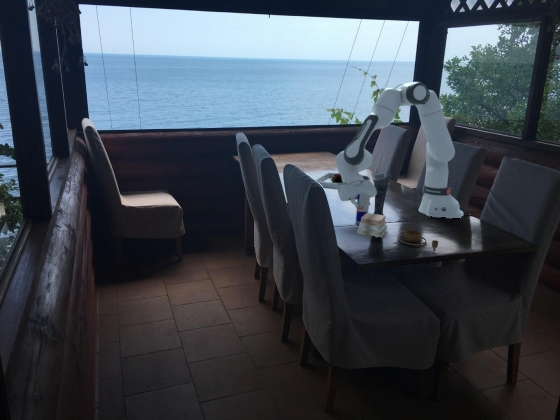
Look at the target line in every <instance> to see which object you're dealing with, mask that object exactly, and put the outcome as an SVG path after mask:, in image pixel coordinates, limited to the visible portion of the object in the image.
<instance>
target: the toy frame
mask: <svg viewBox="0 0 560 420" xmlns="http://www.w3.org/2000/svg"><path fill="white" fill-rule="evenodd" d="M334 174H335V172H329V171H328V172H326V173H325V174H323V175H321V176H320V177H318V178H316V179H315V180H316V181H317V182H318V183H320V184H321V185H322V186H323V187H322V188H329V189H336V185H337V183H333V182H330V181H329V182H327V181H325V180H327V179H328V178H329V179H330V178H331V177H332V178H333V177H334ZM323 180H324V181H323Z"/></svg>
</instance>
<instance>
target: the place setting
mask: <svg viewBox="0 0 560 420" xmlns="http://www.w3.org/2000/svg"><path fill="white" fill-rule="evenodd" d="M401 237H405V238H404V239H405V240H406V241H407V242H406V241H403V240H402V239H401V240H400V239H399V238H401ZM420 238H422V239H424V240H425V242H420V243H417V242H419V241H421V240H420ZM397 239H398V242H399V241H400V242H402V243H405V244H409V245H421V244H424V243H425V244H426V243H427V239H426V238H425V237H422V233H421V231H419V230H415V229H407V230H404V233H403V234H402V235H399V236H397ZM408 241H409V242H416V243H409V242H408ZM400 242H399V243H400ZM402 243H401V244H402ZM425 244H424V245H425ZM431 247H432V252H433V251H435V252H436V249H437V248H438V247H439V240H436V239H434V240H432V241H431Z"/></svg>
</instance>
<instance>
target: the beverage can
mask: <svg viewBox="0 0 560 420" xmlns="http://www.w3.org/2000/svg"><path fill="white" fill-rule="evenodd" d="M369 199H371V198H370V194H369V193H364V192H361V193H358V199H357V200H356V202H357V203H359V205H360V206H359V207H357V208H356V214H355V224H357V225H359V223H360V222H361V218H362V217H363V216H364V215H365V214H366V213H369V207H370V206H369Z"/></svg>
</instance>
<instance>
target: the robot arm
mask: <svg viewBox="0 0 560 420" xmlns="http://www.w3.org/2000/svg"><path fill="white" fill-rule="evenodd" d="M401 106H402V107H403V106H404V107H405V106H406V107H409V106H410V107H411V106H415V107H416V109H417V111H418V115H419V116H418V117H419V121H420V123H421V126H422V132H423V133H424V135H425V138H426V141H427V142H426V144H425V149H426V150H425V166H426V167H425V168H426V169H425V176H424V177H425V178H424V184H423V188H422V198H421V203H420V205H419V208H418V212H419V213H421V214H423V215H426V216H427V217H431V216H432V218H441V217H446V218H445V219H452V218H460V219H462V218H463V217H464V211H462V210H461V209H460V208H461V207H460V203H459V201H458V200H457V199H456V198H455V197H454V196H452V194H451V192H452V191H451V187H448V180H449V179H448V178H449V166H448V165H449V164H448V162H450V161H451V160H453V158H454V157H455V154H456V150H455V147H454V144H453V141H452V137H451V135H450V132H449V129H448V127H447V124H446V121H445V117H444V113H443V109H442V105H441V102H440V99H439V97H438V95H437V94H436V92H435V91H434V90H432V89H428V88H427V86H426V84H424V83H423V82H420V81H409V82H405V83H400V84H398V85H397V86H396V87H395V86H394V88H393V87H387V88H385V89H383V91H381V93H380V94H379V96H378V98H377V100H376V101H375V104H374V106H373V108H372V109H371V111H370V113H369V115H368V116H367V117H365V118H364V120H363V123H362V124H361V125H360V127H359V129H358V131H357V132H356V134H355V136H354V137H353V139H352V140H351V142H350V143H349V144H347V146H346V147H345V148H344V150H343V151H340V152H339V153H338V154H337V155H336V156H335V158H334V161H335V162H334V163H335V165H336V169H337V171H338V172H337V173H339V174H340V175H341V177H342V181H343V183H338V184H337V185H336V188H337V189H336V188H335V189H336V190H337V194H338V197H339V201H341V202H349V201H350V202H351V203H352V204H353V205H354V207H355V208H356V209H357V207H359V206H360V205H359V203H357V200H358V193H361V192H364V193H369V194H370V199H371V198H374V197H376V195H377V194H378V191H377V188H376V187H375V185H374V183H373V181H371V176H368V175H364V174H361V173H360V172H363V171H365V170H367V169H370V168H371V166H372V165H373V163H374V156H373V154H372V153H371V152H369V150H367V149H366V145H367V142H369V139H370V138H371V136H372V134H373V133H374V131H376V130H377V129H384V128H387V127H388V126H390V124H391V123H392V121H393V120H394V119H395V116H396V114H397V112H398V109H399V108H400V107H401ZM370 199H369V207H370V206H371V202H370ZM462 216H463V217H462ZM461 217H462V218H461Z"/></svg>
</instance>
